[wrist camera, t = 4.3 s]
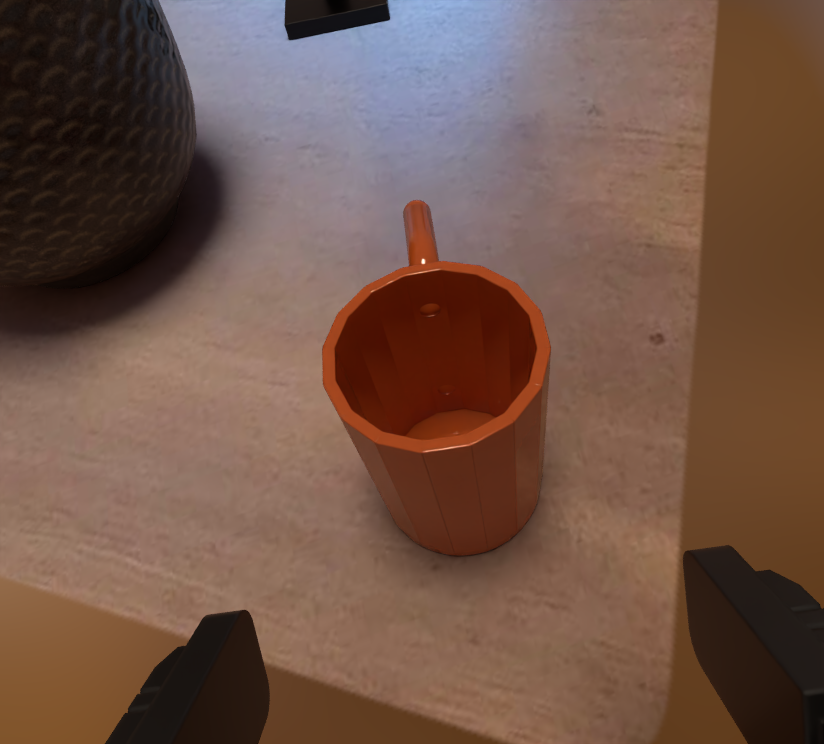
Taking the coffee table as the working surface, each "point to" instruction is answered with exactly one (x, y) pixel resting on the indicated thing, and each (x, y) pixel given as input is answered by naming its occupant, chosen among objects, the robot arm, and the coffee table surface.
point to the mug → (444, 395)
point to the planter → (88, 138)
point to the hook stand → (331, 15)
